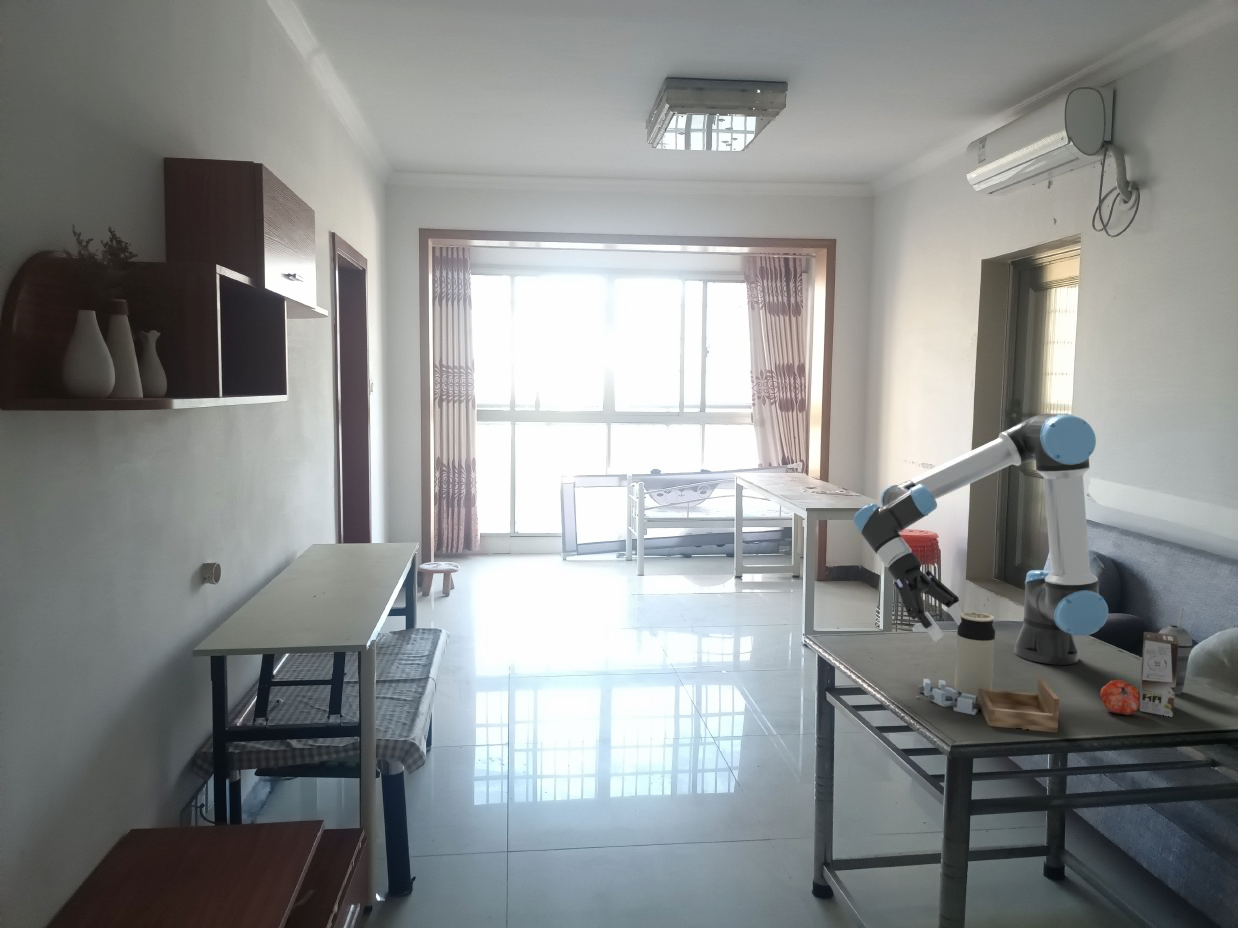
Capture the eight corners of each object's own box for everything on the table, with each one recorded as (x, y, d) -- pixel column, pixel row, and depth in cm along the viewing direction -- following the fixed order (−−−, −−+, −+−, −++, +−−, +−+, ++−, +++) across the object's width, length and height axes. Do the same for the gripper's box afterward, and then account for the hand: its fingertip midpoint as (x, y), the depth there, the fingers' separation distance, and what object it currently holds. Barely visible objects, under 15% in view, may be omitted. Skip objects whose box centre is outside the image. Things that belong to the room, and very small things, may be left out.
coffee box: (1173, 717, 181) (1179, 644, 180) (1138, 711, 185) (1143, 639, 183) (1172, 705, 189) (1177, 634, 188) (1139, 699, 192) (1143, 630, 191)
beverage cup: (1150, 683, 204) (1156, 602, 202) (1186, 688, 200) (1192, 606, 199) (1154, 692, 197) (1160, 608, 195) (1191, 698, 194) (1198, 612, 192)
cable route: (971, 693, 194) (972, 681, 194) (983, 715, 180) (983, 702, 180) (916, 688, 197) (917, 676, 196) (924, 709, 183) (924, 697, 183)
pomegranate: (1095, 715, 188) (1098, 699, 181) (1102, 685, 191) (1105, 668, 184) (1134, 726, 184) (1139, 710, 177) (1140, 695, 187) (1144, 678, 180)
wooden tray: (1040, 709, 184) (1042, 678, 184) (1057, 732, 172) (1059, 698, 171) (977, 703, 187) (979, 673, 187) (988, 725, 175) (990, 692, 174)
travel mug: (995, 698, 191) (1000, 620, 189) (958, 695, 192) (962, 618, 191) (986, 687, 199) (990, 612, 197) (951, 684, 200) (955, 609, 199)
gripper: (915, 563, 218) (968, 633, 208) (861, 574, 201) (915, 651, 191) (936, 546, 213) (991, 616, 203) (882, 556, 197) (939, 634, 187)
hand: (954, 633), depth 197 cm, fingers open, 13 cm apart
